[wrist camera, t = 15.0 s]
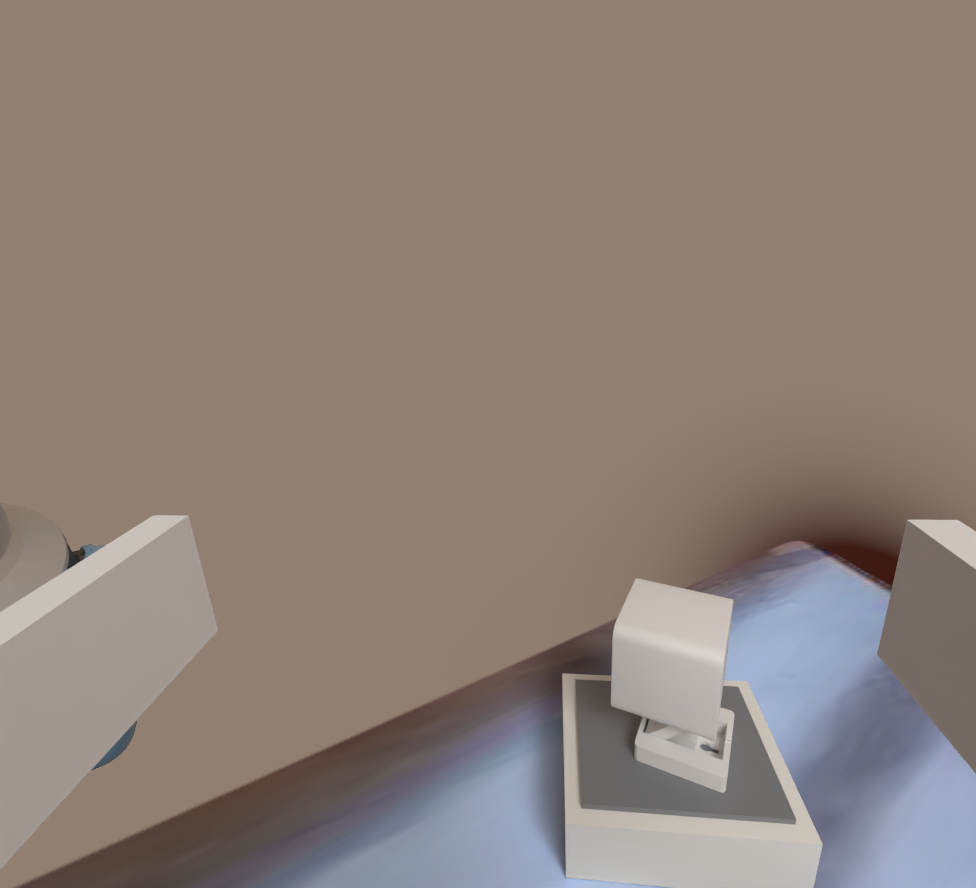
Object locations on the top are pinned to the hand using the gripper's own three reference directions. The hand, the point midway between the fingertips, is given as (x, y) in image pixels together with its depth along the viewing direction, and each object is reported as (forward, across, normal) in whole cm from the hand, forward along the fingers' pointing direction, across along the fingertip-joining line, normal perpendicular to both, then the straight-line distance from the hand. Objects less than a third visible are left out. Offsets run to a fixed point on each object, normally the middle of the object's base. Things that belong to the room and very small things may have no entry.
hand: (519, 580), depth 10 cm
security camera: (+20, +8, -25) cm, 33 cm away
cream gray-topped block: (+20, +8, -30) cm, 37 cm away
